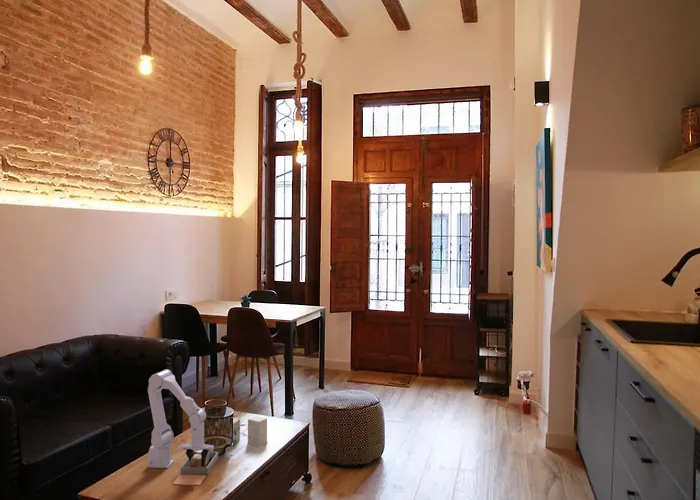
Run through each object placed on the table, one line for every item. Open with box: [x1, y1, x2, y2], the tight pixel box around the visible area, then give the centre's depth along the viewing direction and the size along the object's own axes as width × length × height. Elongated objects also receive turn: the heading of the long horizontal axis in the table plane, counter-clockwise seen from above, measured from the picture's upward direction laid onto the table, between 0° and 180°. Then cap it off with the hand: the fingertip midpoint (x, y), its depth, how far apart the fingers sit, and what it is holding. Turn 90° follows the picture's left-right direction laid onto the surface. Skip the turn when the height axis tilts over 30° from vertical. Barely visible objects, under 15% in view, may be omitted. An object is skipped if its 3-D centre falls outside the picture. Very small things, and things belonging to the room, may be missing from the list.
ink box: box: [232, 417, 241, 447], centre depth 284 cm, size 9×5×12 cm, turn 168°
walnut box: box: [190, 454, 205, 468], centre depth 252 cm, size 4×6×6 cm
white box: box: [196, 450, 210, 466], centre depth 260 cm, size 4×6×6 cm
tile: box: [172, 473, 207, 486], centre depth 241 cm, size 12×9×1 cm
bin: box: [180, 450, 219, 476], centre depth 256 cm, size 12×18×3 cm
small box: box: [247, 415, 268, 447], centre depth 284 cm, size 8×6×13 cm
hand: (197, 465), depth 252 cm, fingers closed on walnut box, 4 cm apart
